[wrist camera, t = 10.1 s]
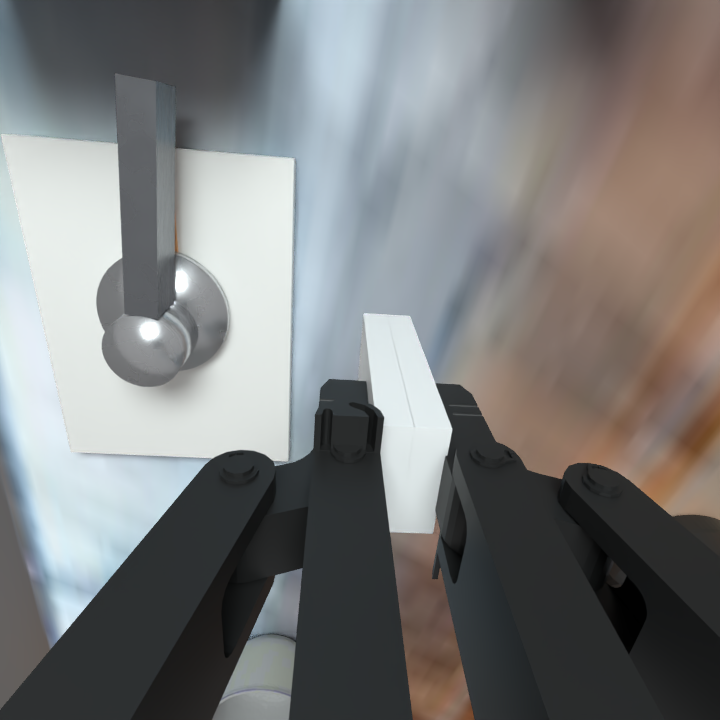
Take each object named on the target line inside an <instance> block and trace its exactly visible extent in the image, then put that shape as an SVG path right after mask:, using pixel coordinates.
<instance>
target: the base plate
mask: <svg viewBox="0 0 720 720" xmlns="http://www.w3.org/2000/svg"><path fill="white" fill-rule="evenodd" d="M1 138H2V143H3V147H4V152H5V156H6V161H7V166H8V170H9V175H10V179H11V184H12V188H13V193H14V197H15V202H16V206H17V211H18V215H19V220H20V224H21V229H22V233H23V238H24V242H25V247H26V251H27V256H28V260H29V265H30V270H31V274H32V279H33V283H34V288H35V292H36V297H37V301H38V306H39V310H40V315H41V319H42V324H43V328H44V333H45V337H46V342H47V346H48V351H49V355H50V360H51V364H52V369H53V374H54V378H55V383H56V387H57V392H58V396H59V401H60V405H61V410H62V414H63V419H64V423H65V428H66V432H67V437H68V441H69V446H70V450H71V452H78V453H101V454H125V455H148V456H172V457H195V458H214V457H216V456H218V455H221V454H223V453H225V452H229V451H236V450H252V451H256V452H259V453H262V454H265V455H266V456H267V457H269V458H270V459H271V460H272V461H288V459H289V453H290V419H291V371H292V323H293V275H294V227H295V179H296V158H289V157H277V156H265V155H254V154H242V153H230V152H218V151H207V150H195V149H183V148H175V251H177V252H180V253H182V254H185V255H187V256H189V257H191V258H193V259H194V260H196V261H198V262H199V263H201V264H202V265H203V266H204V267H205V268H207V269H208V270H209V271H210V272H211V273H212V274H213V276H214V277H215V278H216V279H217V281H218V282H219V284H220V285H221V287H222V289H223V291H224V293H225V295H226V298H227V301H228V305H229V311H230V322H229V328H228V332H227V335H226V337H225V339H224V341H223V343H222V345H221V346H220V348H219V349H218V351H217V352H216V353H215V354H214V355H213V357H211V358H210V359H209V360H208V361H206V362H205V363H203V364H201V365H199V366H197V367H195V368H192V369H188V370H183V371H179V372H178V373H177V375H176V376H175V377H174V378H173V379H172V380H170V381H169V382H167V383H165V384H163V385H160V386H155V387H142V386H137V385H134V384H131V383H129V382H127V381H125V380H123V379H121V378H120V377H119V376H117V375H116V374H115V373H114V372H113V371H112V370H111V369H110V367H109V366H108V364H107V363H106V361H105V359H104V356H103V353H102V338H103V335H104V333H105V331H104V330H103V328H102V325H101V323H100V320H99V317H98V313H97V306H96V296H97V290H98V287H99V283H100V281H101V279H102V277H103V275H104V274H105V272H106V271H107V270H108V269H109V268H110V267H111V266H112V265H113V264H114V263H115V262H116V261H118V260H119V259H121V258H122V239H121V215H120V190H119V165H118V143H113V142H102V141H90V140H78V139H66V138H55V137H43V136H31V135H20V134H1Z"/></svg>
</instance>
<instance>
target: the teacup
mask: <svg viewBox="0 0 720 720" xmlns="http://www.w3.org/2000/svg"><path fill="white" fill-rule="evenodd" d="M295 646H296V642H295V641H293V640H292V639H290V638H287V637H285V636H281V635H274V634H269V635H262V636H258V637H255V638H253V639H251V640H248V641H247V643H246V645H245V647H244V649H243V652H242V654H241V656H240V658H239V661H238V663H237V665H236V667H235V669H234V672H233V674H232V676H231V678H230V681H229V683H228V685H227V687H226V689H225V692H224V694H223V696H222V698H221V701H220V703H219V705H218V707H217V710H216V712H215V714H214V716H213V718H212V720H289V711H290V700H291V689H292V679H293V668H294V657H295Z"/></svg>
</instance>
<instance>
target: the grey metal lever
mask: <svg viewBox="0 0 720 720" xmlns="http://www.w3.org/2000/svg"><path fill="white" fill-rule="evenodd" d="M115 91H116V116H117V140H118V165H119V190H120V215H121V239H122V258H121V259H119V260H118V261H116V262H115V263H114V264H113V265H112V266H111V267H110V268H109V269H108V270H107V271H106V272H105V274H104V275H103V277H102V279H101V281H100V283H99V287H98V290H97V296H96V306H97V313H98V317H99V320H100V323H101V325H102V328H103V330H104V331H105V333H104V335H103V338H102V353H103V356H104V359H105V361H106V363H107V364H108V366H109V367H110V369H111V370H112V371H113V372H114V373H115V374H116V375H117V376H119V377H120V378H121V379H123V380H125V381H127V382H129V383H131V384H134V385H137V386H142V387H155V386H160V385H163V384H165V383H167V382H169V381H170V380H172V379H173V378H174V377H175V376H176V375H177V373H178V372H179V371H183V370H188V369H192V368H195V367H197V366H199V365H201V364H203V363H205V362H206V361H208V360H209V359H210V358H211V357H213V355H214V354H215V353H216V352H217V351H218V349H219V348H220V346H221V345H222V343H223V341H224V339H225V337H226V335H227V332H228V328H229V322H230V311H229V305H228V301H227V298H226V295H225V293H224V291H223V289H222V287H221V285H220V284H219V282H218V281H217V279H216V278H215V277H214V276H213V274H212V273H211V272H210V271H209V270H208V269H207V268H205V267H204V266H203V265H202V264H201V263H199V262H198V261H196V260H194V259H193V258H191V257H189V256H187V255H185V254H182V253H180V252H177V251H175V122H176V87H174V86H171V85H167V84H164V83H160V82H157V81H153V80H147V79H142V78H137V77H132V76H127V75H122V74H117V73H115Z"/></svg>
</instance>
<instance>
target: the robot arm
mask: <svg viewBox="0 0 720 720" xmlns="http://www.w3.org/2000/svg"><path fill="white" fill-rule="evenodd" d="M436 515H437V519H438V523H439V527H440V535H439V540H438V545H437V550H436V555H435V560H434V565H433V573H432V579H438V574H439V569H440V568H441V571H442V575H443V580H444V584H445V589H446V593H447V598H448V602H449V607H450V611H451V615H452V620H453V624H454V629H455V633H456V638H457V642H458V647H459V651H460V656H461V660H462V665H463V669H464V674H465V678H466V682H467V687H468V691H469V696H470V700H471V705H472V709H473V714H474V718H475V720H720V520H718V519H715V518H711V517H707V516H700V515H683V516H675V517H672V516H671V515H669V514H668V513H667V512H666V511H665V510H664V509H662V508H661V507H660V506H659V505H658V504H656V503H655V502H654V501H653V500H652V499H651V498H649V497H648V496H647V495H646V494H645V493H644V492H642V491H641V490H640V489H639V488H638V487H636V486H635V485H634V484H633V483H632V482H631V481H629V480H628V479H626V478H625V477H623V476H622V475H621V474H619V473H618V472H615V471H613V470H611V469H608V468H607V467H604V466H601V465H597V464H591V463H577V464H574V465H570V466H569V467H568V468H567V469H566V471H565V472H564V475H563V479H558V478H554V477H550V476H546V475H542V474H538V473H535V472H532V471H529V470H527V469H526V467H525V466H524V464H523V462H522V460H521V459H520V457H519V456H518V455H517V454H516V453H515V452H514V451H513V450H511V449H510V448H508V447H507V446H505V445H503V444H500V443H497V442H496V441H495V439H494V437H493V435H492V433H491V431H490V429H489V427H488V425H487V423H486V421H485V419H484V417H483V416H482V413H481V411H480V409H479V407H477V403H476V401H475V399H474V398H473V396H472V394H471V393H469V392H468V391H467V390H466V389H464V388H463V387H462V386H461V385H456V384H437V383H435V381H434V379H433V376H432V374H431V371H430V368H429V366H428V363H427V360H426V358H425V355H424V352H423V350H422V347H421V344H420V342H419V339H418V336H417V334H416V331H415V328H414V326H413V323H412V320H411V318H410V316H401V315H385V314H369V313H363V325H362V337H361V349H360V361H359V373H358V381H355V380H336V379H329V380H328V381H327V382H326V383H325V384H324V385H323V386H322V387H321V390H320V401H319V408H318V410H317V412H316V414H315V430H314V448H313V450H312V451H311V452H310V454H308V455H307V456H306V457H304V458H303V459H300V460H298V461H296V462H293V463H289V464H285V465H279V466H275V465H274V463H273V461H272V460H271V459H270V458H269V457H267V456H266V455H265V454H262V453H259V452H256V451H252V450H236V451H229V452H225V453H223V454H221V455H218V456H216V457H214V458H213V459H211V460H210V461H209V462H208V463H207V464H205V466H204V467H203V468H202V469H201V470H200V472H199V473H198V474H197V475H196V476H195V478H194V479H193V480H192V481H191V482H190V484H189V485H188V486H187V487H186V488H185V489H184V491H183V492H182V493H181V494H180V495H179V497H178V498H177V499H176V500H175V501H174V503H173V504H172V505H171V506H170V507H169V509H168V510H167V511H166V512H165V513H164V515H163V516H162V517H161V518H160V519H159V521H158V522H157V523H156V524H155V525H154V527H153V528H152V529H151V530H150V531H149V533H148V534H147V535H146V536H145V537H144V539H143V540H142V541H141V542H140V543H139V545H138V546H137V547H136V548H135V549H134V550H133V552H132V553H131V554H130V555H129V556H128V558H127V559H126V560H125V561H124V562H123V564H122V565H121V566H120V567H119V568H118V570H117V571H116V572H115V573H114V574H113V576H112V577H111V578H110V579H109V580H108V582H107V583H106V584H105V585H104V586H103V588H102V589H101V590H100V591H99V592H98V594H97V595H96V596H95V597H94V598H93V600H92V601H91V602H90V603H89V604H88V606H87V607H86V608H85V609H84V610H83V612H82V613H81V614H80V615H79V616H78V617H77V619H76V620H75V621H74V622H73V623H72V625H71V626H70V627H69V628H68V629H67V631H66V632H65V633H64V634H63V635H62V637H61V638H60V639H59V640H58V641H57V643H56V644H55V645H54V646H53V647H52V649H51V650H50V651H49V652H48V653H47V655H46V656H45V657H44V658H43V659H42V661H41V662H40V663H39V664H38V665H37V667H36V668H35V669H34V670H33V671H32V673H31V674H30V675H29V676H28V677H27V679H26V680H25V681H24V683H22V685H21V686H20V687H19V688H18V689H17V690H16V692H15V693H14V694H13V695H12V696H11V698H10V699H9V700H8V701H7V702H6V704H5V705H4V706H3V707H2V708H1V710H0V720H212V718H213V716H214V714H215V712H216V710H217V707H218V705H219V703H220V701H221V698H222V696H223V694H224V692H225V689H226V687H227V685H228V683H229V681H230V678H231V676H232V674H233V672H234V669H235V667H236V665H237V663H238V661H239V658H240V656H241V654H242V652H243V649H244V647H245V645H246V643H247V641H248V638H249V636H250V634H251V632H252V629H253V627H254V625H255V623H256V620H257V618H258V616H259V614H260V612H261V609H262V607H263V605H264V603H265V600H266V598H267V596H268V594H269V592H270V589H271V587H272V585H273V583H274V578H275V575H277V574H281V573H285V572H289V571H293V570H297V569H300V568H303V571H302V581H301V592H300V603H299V614H298V625H297V635H296V646H295V657H294V668H293V679H292V689H291V700H290V711H289V720H413V718H412V710H411V702H410V694H409V685H408V677H407V669H406V661H405V652H404V644H403V636H402V628H401V619H400V611H399V603H398V595H397V587H396V578H395V570H394V562H393V554H392V545H391V537H390V532H400V533H429V534H433V530H434V525H435V519H436Z"/></svg>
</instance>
